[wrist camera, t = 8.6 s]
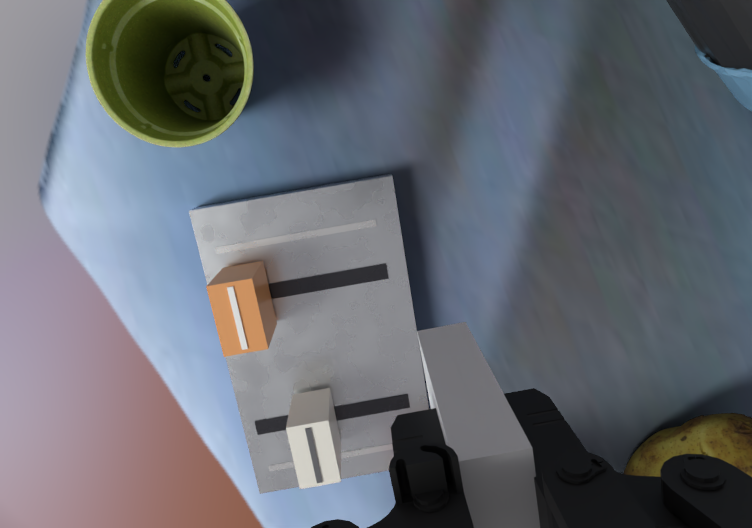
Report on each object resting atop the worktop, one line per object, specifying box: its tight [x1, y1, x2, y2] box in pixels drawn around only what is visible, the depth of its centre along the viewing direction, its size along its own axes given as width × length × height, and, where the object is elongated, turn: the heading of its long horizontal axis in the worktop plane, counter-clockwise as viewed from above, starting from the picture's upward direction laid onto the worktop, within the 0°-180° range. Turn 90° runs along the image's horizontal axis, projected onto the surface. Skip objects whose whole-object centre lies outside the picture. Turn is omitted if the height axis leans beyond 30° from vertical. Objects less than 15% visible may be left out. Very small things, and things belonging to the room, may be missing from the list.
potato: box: [624, 413, 752, 477], centre depth 45 cm, size 8×13×8 cm, turn 119°
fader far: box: [286, 388, 341, 489], centre depth 41 cm, size 3×5×5 cm, turn 9°
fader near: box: [206, 261, 277, 357], centre depth 38 cm, size 3×5×5 cm, turn 9°
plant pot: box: [86, 0, 254, 147], centre depth 35 cm, size 9×9×9 cm
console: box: [189, 174, 429, 494], centre depth 43 cm, size 15×24×2 cm, turn 10°
